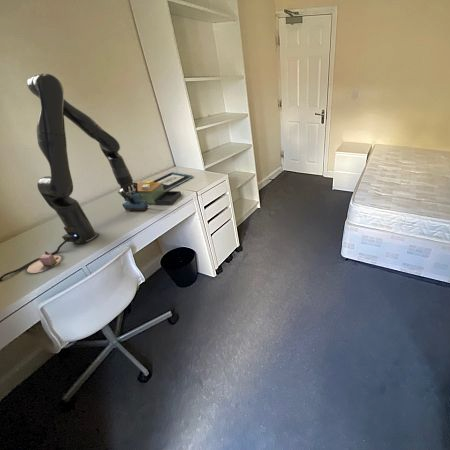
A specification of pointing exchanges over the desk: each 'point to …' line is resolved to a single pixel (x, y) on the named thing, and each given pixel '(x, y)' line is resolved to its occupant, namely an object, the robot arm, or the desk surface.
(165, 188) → the sketchbook
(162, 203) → the tray
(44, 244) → the desk surface
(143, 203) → the brush
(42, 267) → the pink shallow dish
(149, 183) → the scrap yellow
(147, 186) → the scrap white
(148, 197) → the cabinet
